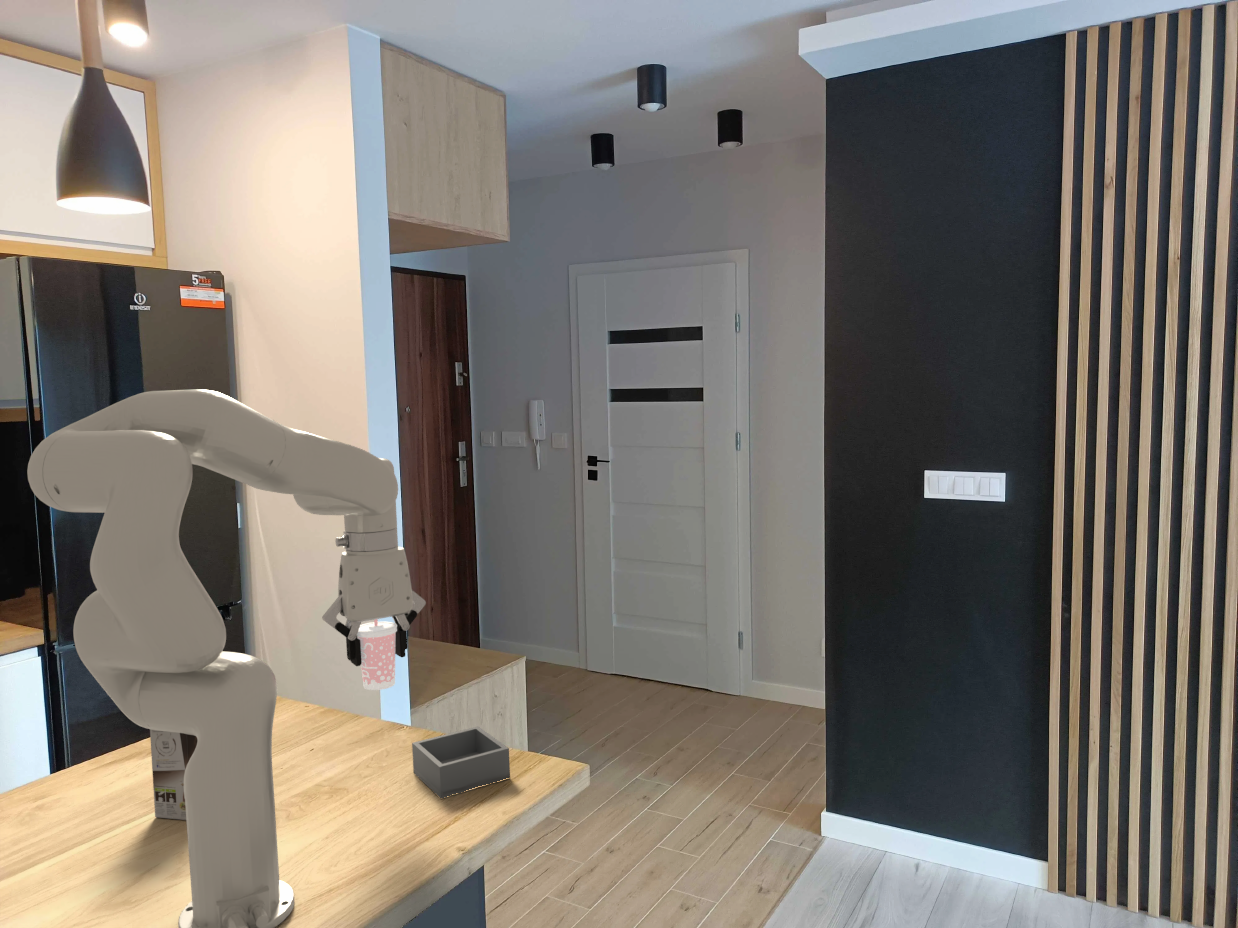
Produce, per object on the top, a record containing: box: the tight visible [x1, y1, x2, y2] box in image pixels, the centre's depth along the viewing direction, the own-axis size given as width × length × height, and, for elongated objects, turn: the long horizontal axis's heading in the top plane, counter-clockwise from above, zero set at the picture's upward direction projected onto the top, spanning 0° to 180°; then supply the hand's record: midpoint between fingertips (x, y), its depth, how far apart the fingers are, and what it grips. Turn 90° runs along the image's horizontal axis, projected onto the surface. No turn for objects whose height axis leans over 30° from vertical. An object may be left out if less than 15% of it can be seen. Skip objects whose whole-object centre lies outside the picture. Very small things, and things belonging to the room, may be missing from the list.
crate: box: [411, 726, 511, 799], centre depth 141 cm, size 12×12×5 cm
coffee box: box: [149, 729, 198, 821], centre depth 133 cm, size 9×6×16 cm
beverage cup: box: [357, 619, 397, 691], centre depth 133 cm, size 6×6×14 cm
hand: (378, 658), depth 133 cm, fingers closed on beverage cup, 6 cm apart
